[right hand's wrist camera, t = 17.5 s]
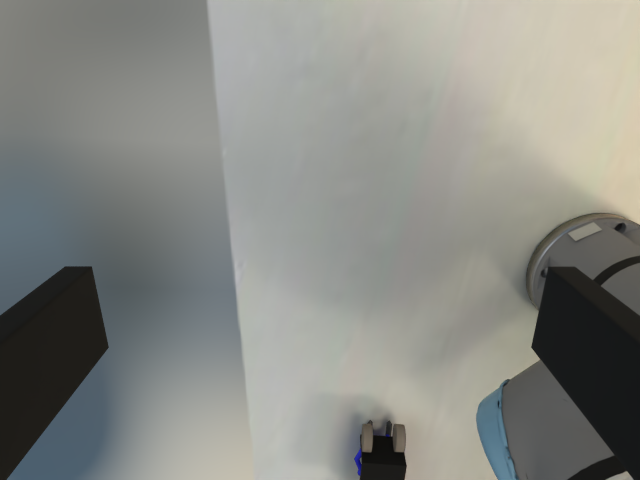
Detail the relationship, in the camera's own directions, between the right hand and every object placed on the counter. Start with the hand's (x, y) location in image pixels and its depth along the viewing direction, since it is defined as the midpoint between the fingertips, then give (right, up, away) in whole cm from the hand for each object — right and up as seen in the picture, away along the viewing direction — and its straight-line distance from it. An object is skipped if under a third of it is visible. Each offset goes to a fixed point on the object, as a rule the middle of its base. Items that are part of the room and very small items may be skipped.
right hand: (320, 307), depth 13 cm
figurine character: (+8, -29, +52) cm, 61 cm away
